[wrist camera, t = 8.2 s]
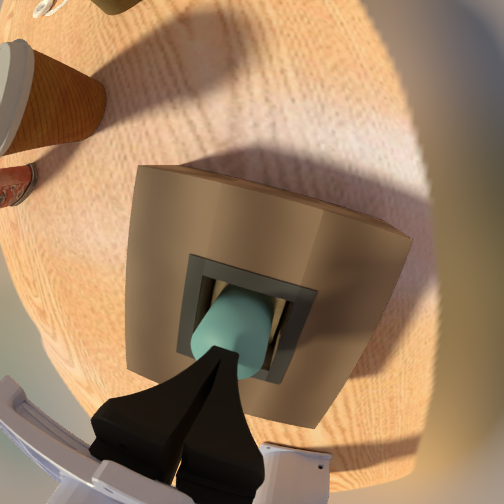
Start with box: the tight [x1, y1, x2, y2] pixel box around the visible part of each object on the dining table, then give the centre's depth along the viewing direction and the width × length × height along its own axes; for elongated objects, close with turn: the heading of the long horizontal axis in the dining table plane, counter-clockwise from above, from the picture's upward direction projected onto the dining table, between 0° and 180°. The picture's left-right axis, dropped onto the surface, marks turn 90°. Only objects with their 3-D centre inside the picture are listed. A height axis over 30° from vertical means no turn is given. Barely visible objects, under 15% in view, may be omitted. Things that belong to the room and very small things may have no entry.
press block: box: [125, 165, 413, 429], centre depth 19 cm, size 16×16×6 cm
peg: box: [191, 284, 274, 380], centre depth 16 cm, size 4×4×5 cm
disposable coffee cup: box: [0, 39, 106, 157], centre depth 14 cm, size 10×10×12 cm
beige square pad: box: [210, 280, 286, 346], centre depth 19 cm, size 5×5×1 cm
